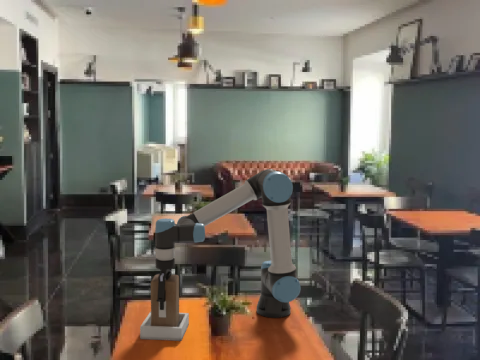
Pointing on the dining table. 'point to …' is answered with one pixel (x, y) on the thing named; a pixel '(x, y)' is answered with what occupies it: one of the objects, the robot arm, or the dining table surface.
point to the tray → (164, 329)
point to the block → (170, 299)
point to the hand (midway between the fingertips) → (165, 312)
